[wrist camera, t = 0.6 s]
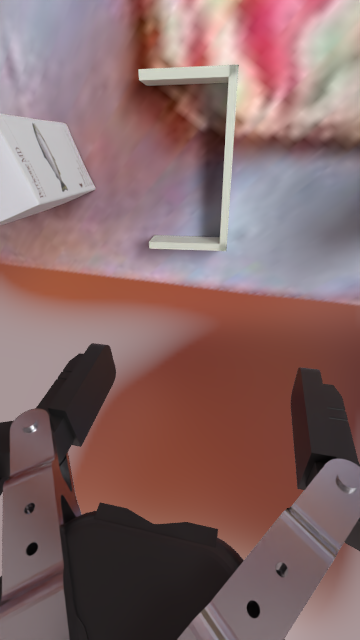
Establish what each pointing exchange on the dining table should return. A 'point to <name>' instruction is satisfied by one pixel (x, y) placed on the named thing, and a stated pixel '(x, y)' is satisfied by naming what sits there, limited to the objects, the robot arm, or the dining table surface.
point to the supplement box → (38, 167)
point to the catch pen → (231, 77)
